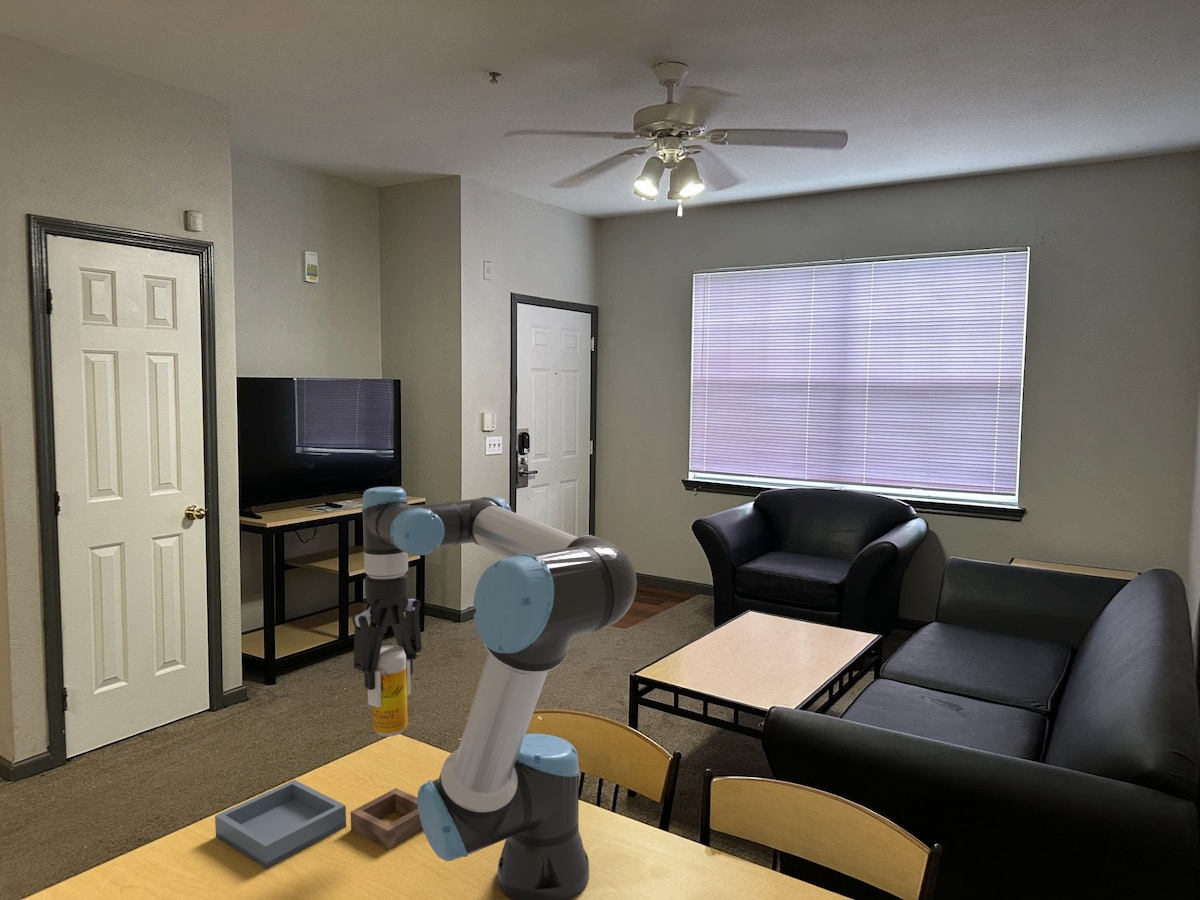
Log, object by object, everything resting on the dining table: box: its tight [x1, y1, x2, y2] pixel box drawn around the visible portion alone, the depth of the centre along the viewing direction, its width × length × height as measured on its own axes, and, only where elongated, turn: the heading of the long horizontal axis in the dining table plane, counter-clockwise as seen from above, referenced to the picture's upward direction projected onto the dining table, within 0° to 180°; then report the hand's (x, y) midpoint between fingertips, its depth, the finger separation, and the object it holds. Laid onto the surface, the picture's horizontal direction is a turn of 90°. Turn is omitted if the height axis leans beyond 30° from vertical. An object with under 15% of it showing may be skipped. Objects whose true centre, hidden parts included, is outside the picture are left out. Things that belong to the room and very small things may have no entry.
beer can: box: [372, 645, 409, 737], centre depth 147 cm, size 6×6×15 cm
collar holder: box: [350, 787, 424, 851], centre depth 150 cm, size 10×10×4 cm
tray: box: [214, 779, 347, 870], centre depth 148 cm, size 16×16×4 cm
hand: (389, 698), depth 148 cm, fingers closed on beer can, 6 cm apart
